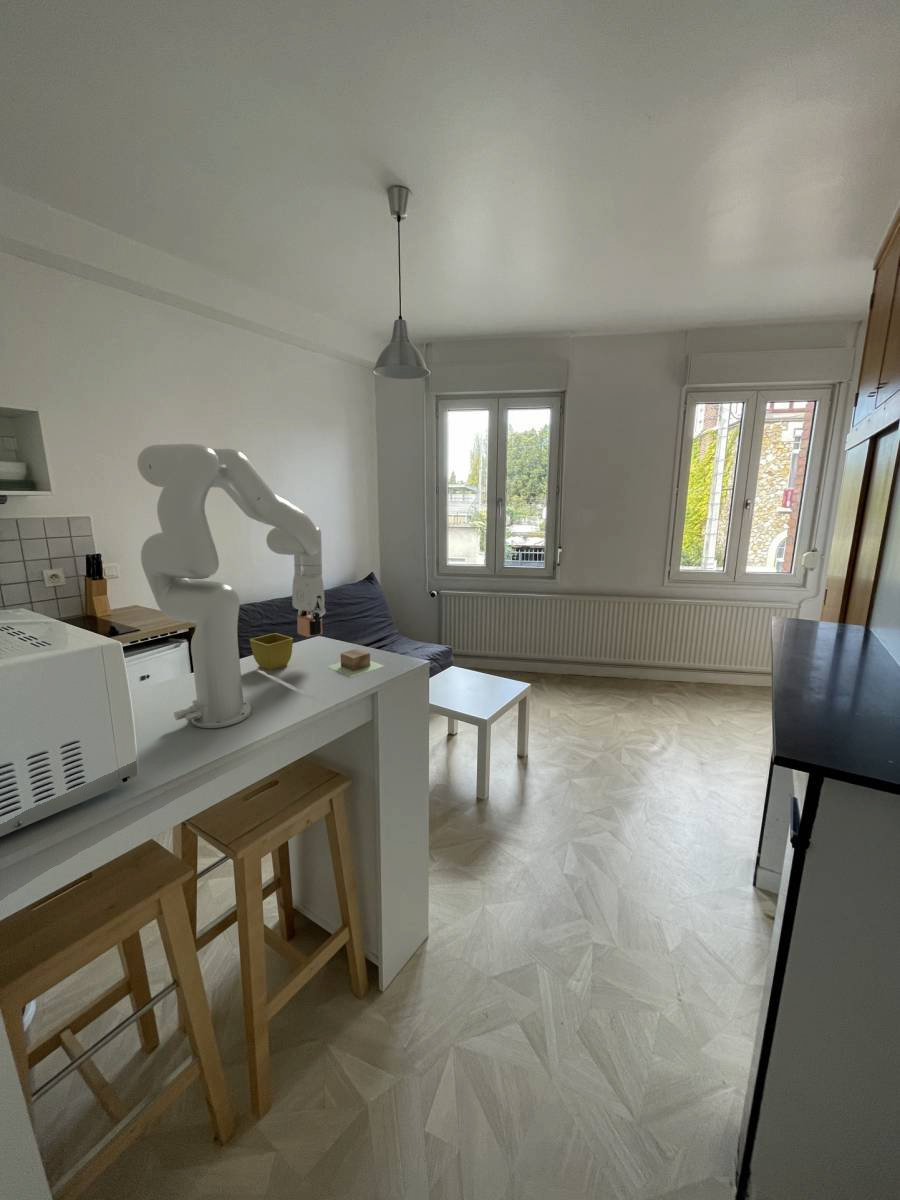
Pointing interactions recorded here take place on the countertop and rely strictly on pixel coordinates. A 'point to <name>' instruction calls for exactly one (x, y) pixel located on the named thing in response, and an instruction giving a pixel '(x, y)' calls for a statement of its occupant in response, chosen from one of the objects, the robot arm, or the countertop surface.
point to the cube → (305, 625)
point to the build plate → (354, 673)
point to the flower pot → (272, 650)
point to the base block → (355, 659)
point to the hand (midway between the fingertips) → (309, 631)
